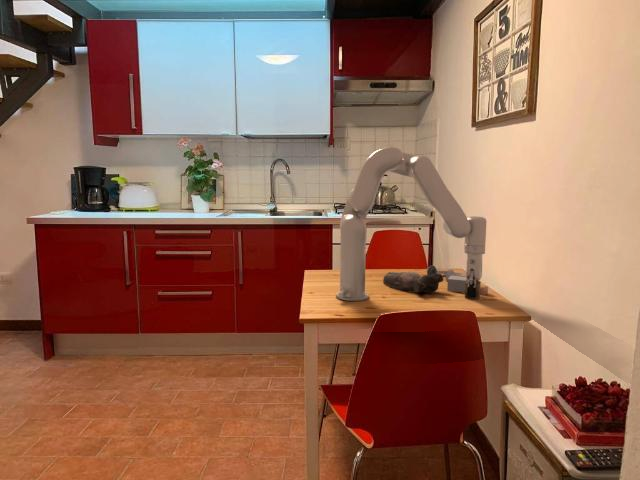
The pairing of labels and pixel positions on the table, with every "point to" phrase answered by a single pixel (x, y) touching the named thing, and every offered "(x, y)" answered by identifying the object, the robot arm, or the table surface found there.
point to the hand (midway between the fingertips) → (472, 294)
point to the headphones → (442, 272)
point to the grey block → (456, 283)
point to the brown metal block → (476, 289)
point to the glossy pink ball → (483, 290)
